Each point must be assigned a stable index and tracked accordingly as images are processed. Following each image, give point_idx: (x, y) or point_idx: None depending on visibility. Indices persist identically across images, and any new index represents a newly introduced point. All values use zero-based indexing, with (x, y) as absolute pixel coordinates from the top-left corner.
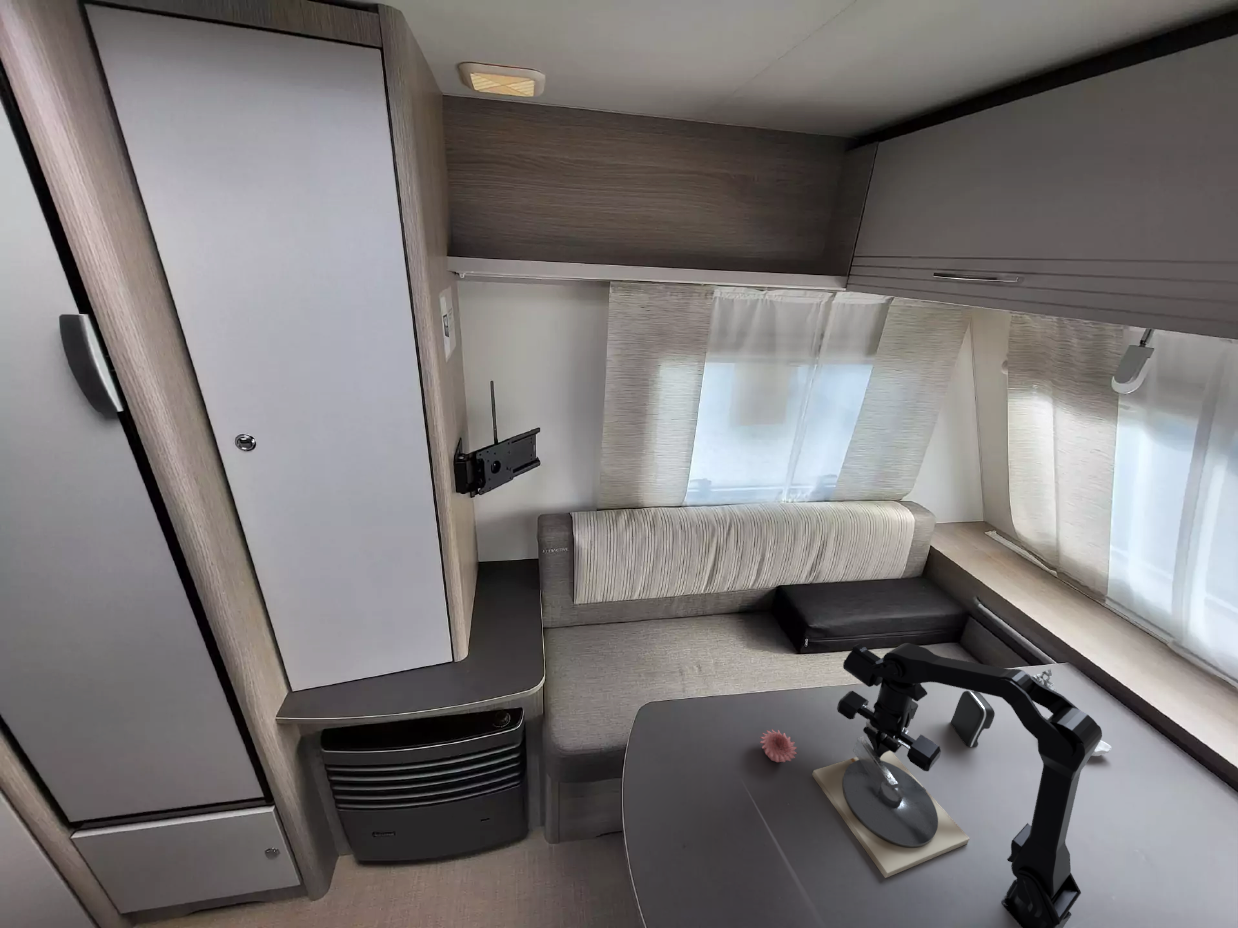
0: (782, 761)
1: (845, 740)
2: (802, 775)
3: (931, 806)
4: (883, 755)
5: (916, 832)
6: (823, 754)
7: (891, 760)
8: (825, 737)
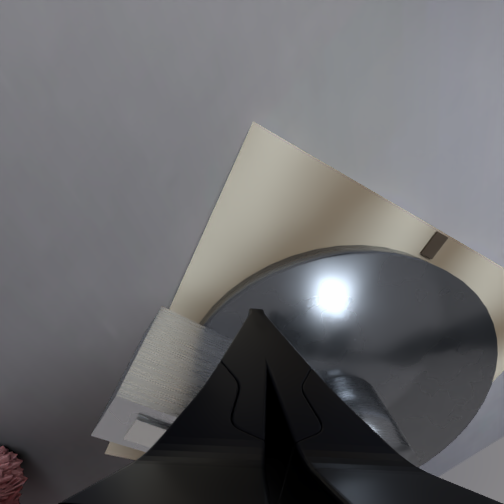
0: (25, 479)
1: (92, 220)
2: (99, 444)
3: (479, 328)
4: (256, 201)
5: (428, 436)
6: (85, 347)
7: (295, 199)
8: (30, 274)
